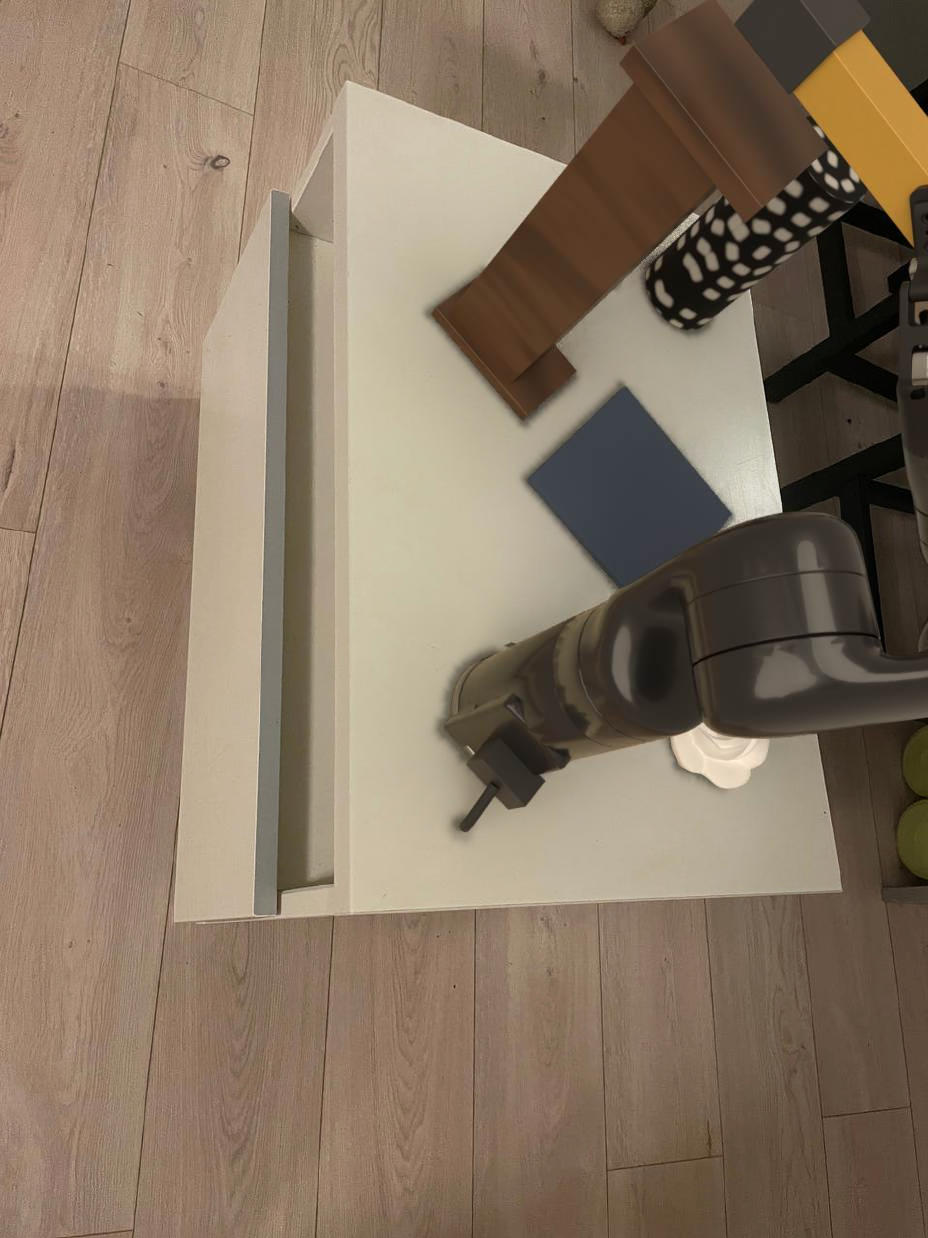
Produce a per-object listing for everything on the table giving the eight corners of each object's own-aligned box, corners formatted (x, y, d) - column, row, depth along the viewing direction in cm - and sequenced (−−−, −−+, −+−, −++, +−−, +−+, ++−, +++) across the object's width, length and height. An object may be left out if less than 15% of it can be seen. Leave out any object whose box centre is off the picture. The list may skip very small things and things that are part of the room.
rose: (801, 774, 78) (717, 794, 74) (763, 780, 82) (681, 799, 78) (770, 660, 80) (686, 672, 76) (734, 671, 84) (652, 683, 79)
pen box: (947, 299, 54) (1003, 264, 51) (733, 23, 52) (778, -31, 49) (974, 263, 57) (1029, 227, 54) (771, -2, 55) (816, -54, 52)
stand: (515, 426, 80) (762, 207, 55) (423, 318, 79) (633, 43, 54) (577, 371, 85) (829, 147, 60) (491, 268, 84) (713, -5, 59)
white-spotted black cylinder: (706, 343, 94) (867, 219, 77) (641, 307, 91) (793, 170, 74) (712, 280, 98) (868, 148, 81) (649, 243, 95) (797, 98, 78)
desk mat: (645, 618, 81) (649, 616, 81) (526, 480, 79) (529, 477, 79) (728, 516, 89) (732, 513, 89) (621, 388, 87) (625, 385, 87)
